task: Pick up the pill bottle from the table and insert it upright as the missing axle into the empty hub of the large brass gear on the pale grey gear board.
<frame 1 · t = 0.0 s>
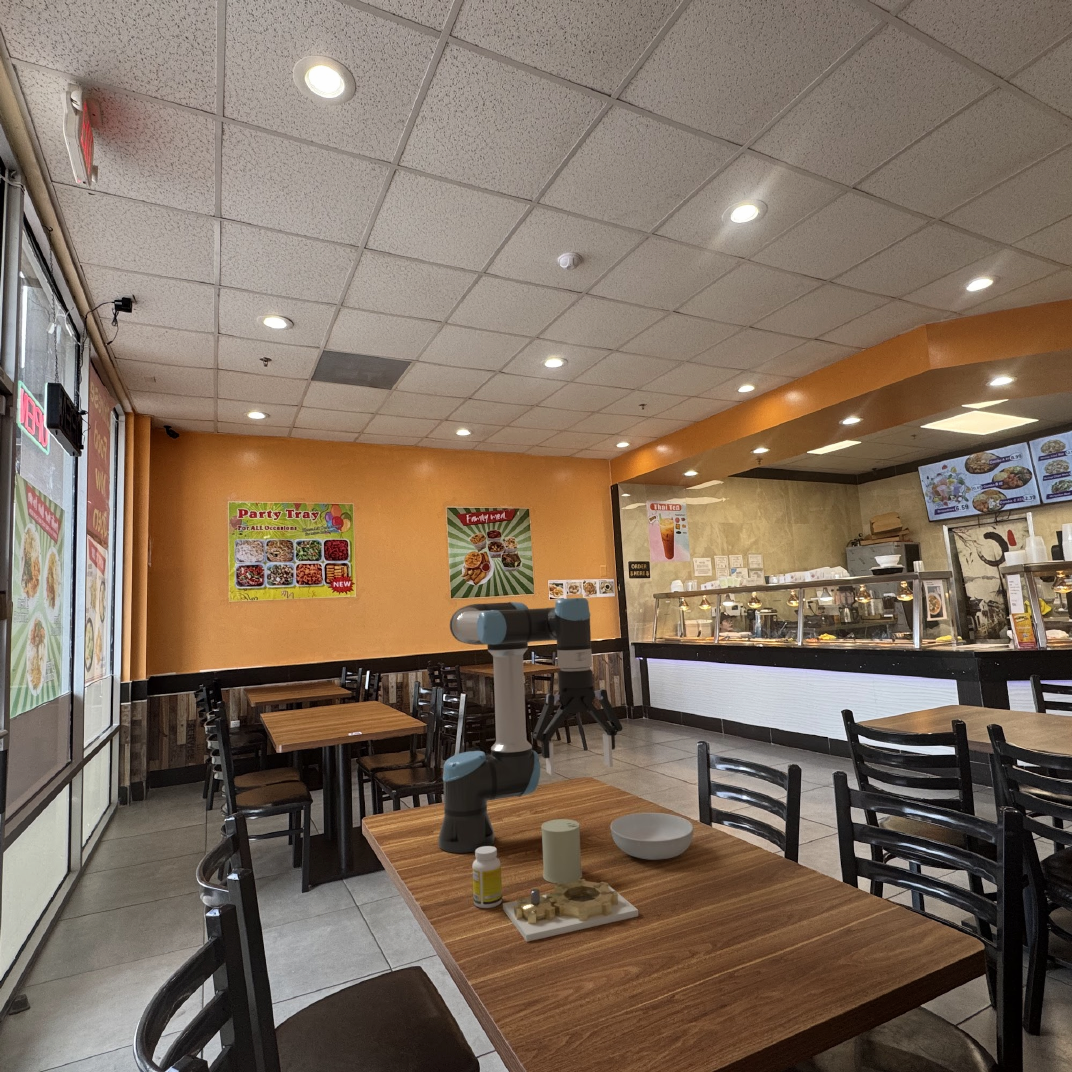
hand: (580, 769, 142), 28 cm above the table, fingers open, 13 cm apart
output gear: (582, 909, 138), resting on gear board
can: (562, 876, 156), on the table
pill bottle: (487, 903, 143), on the table
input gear: (536, 919, 134), resting on gear board
gear board: (569, 912, 137), on the table
serving bowl: (653, 854, 168), on the table
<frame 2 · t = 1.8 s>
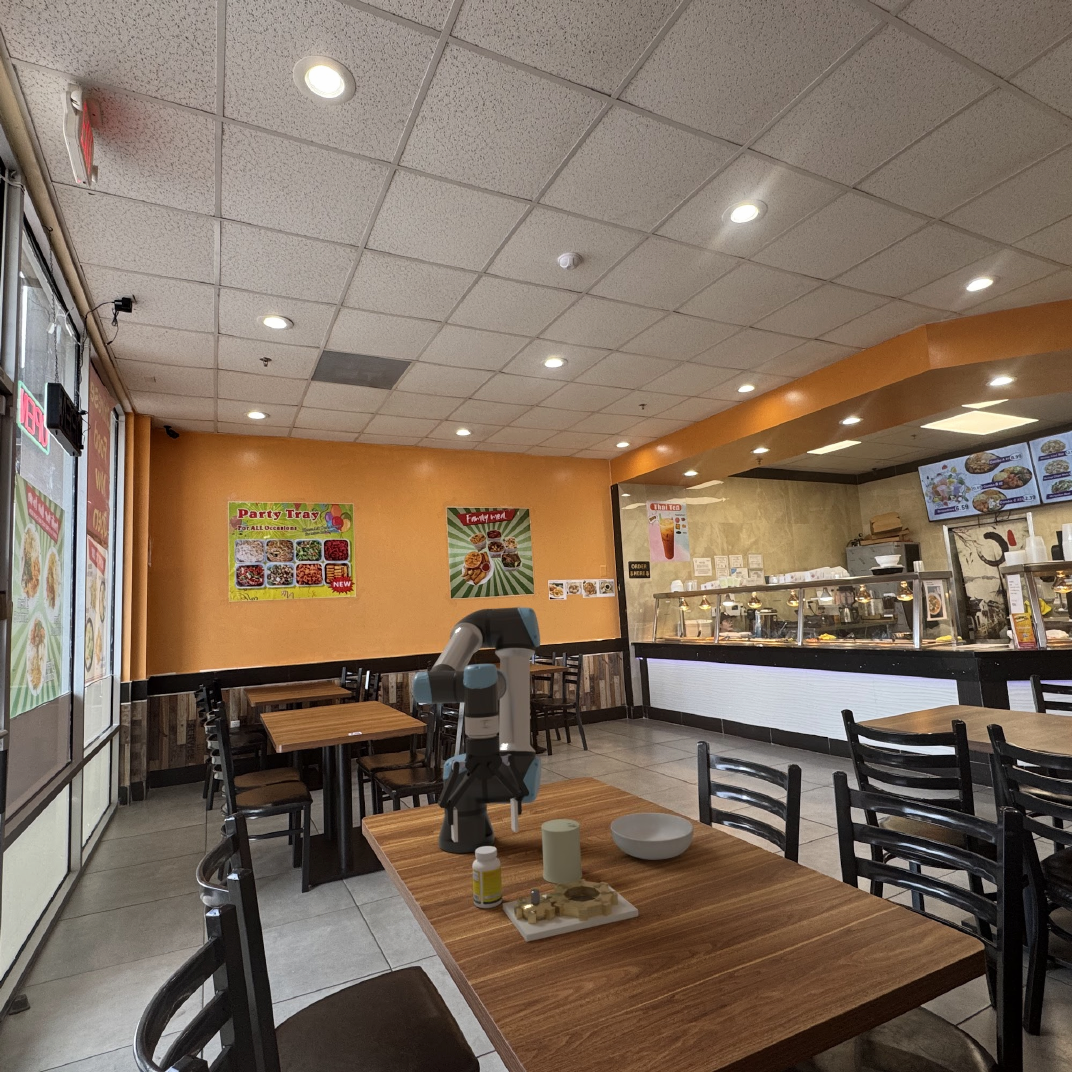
hand: (485, 835, 144), 14 cm above the table, fingers open, 13 cm apart
nothing on the table moved.
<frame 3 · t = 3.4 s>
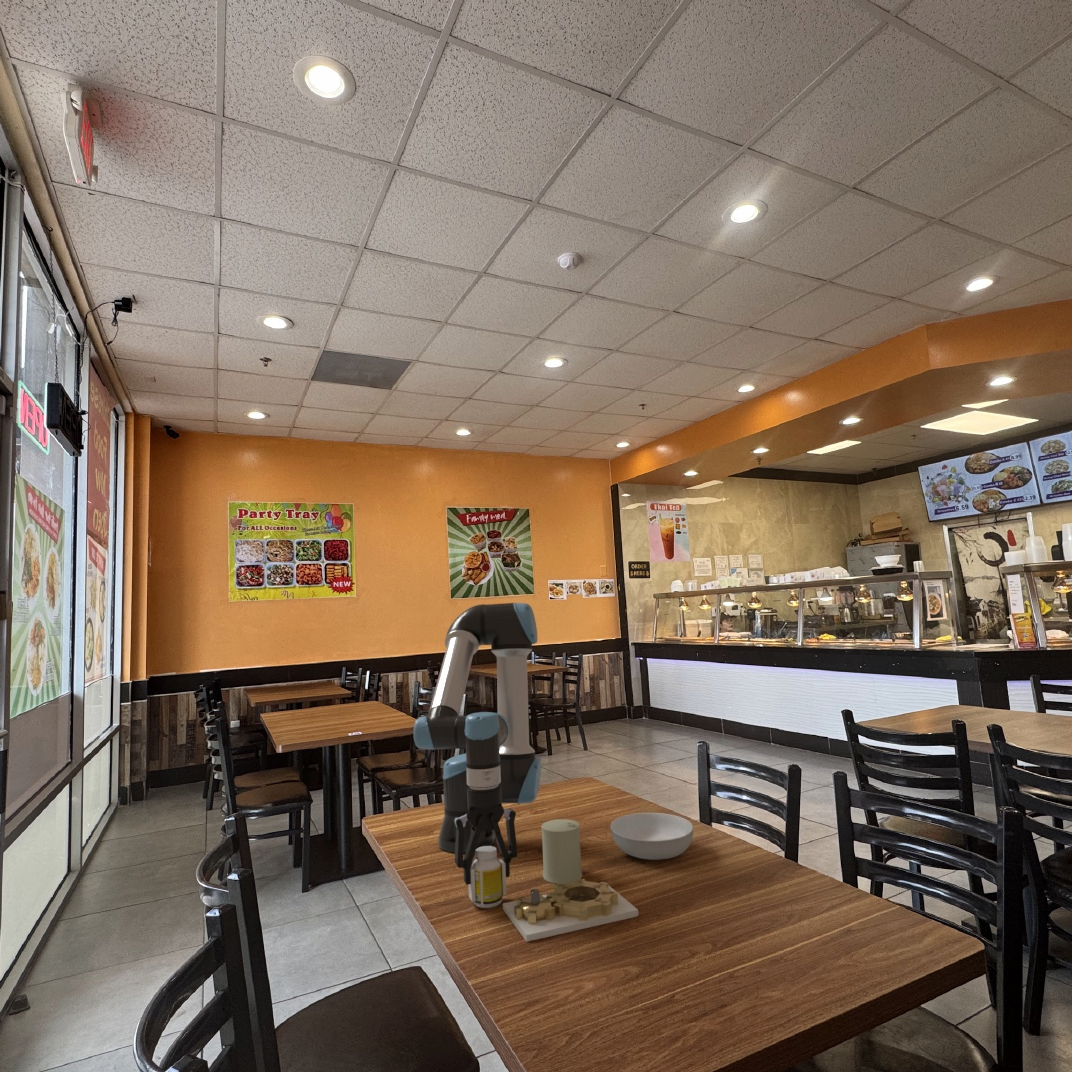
hand: (487, 895, 143), 1 cm above the table, fingers closed on pill bottle, 6 cm apart
pill bottle: (487, 903, 143), on the table, touching gripper
everything else where it was.
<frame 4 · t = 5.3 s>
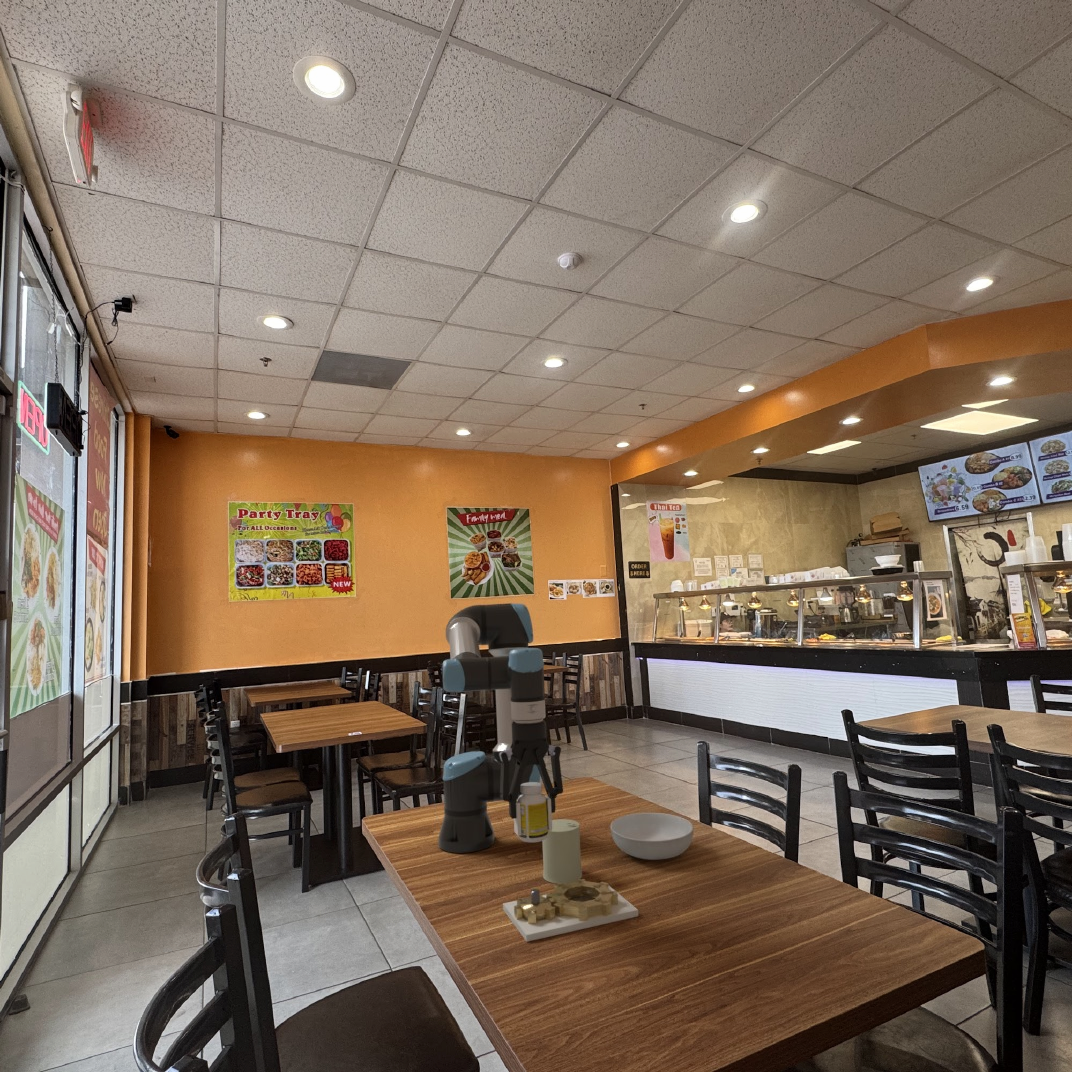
hand: (533, 831, 141), 16 cm above the table, fingers closed on pill bottle, 6 cm apart
pill bottle: (533, 839, 141), point 14 cm above the table, touching gripper
everything else where it was.
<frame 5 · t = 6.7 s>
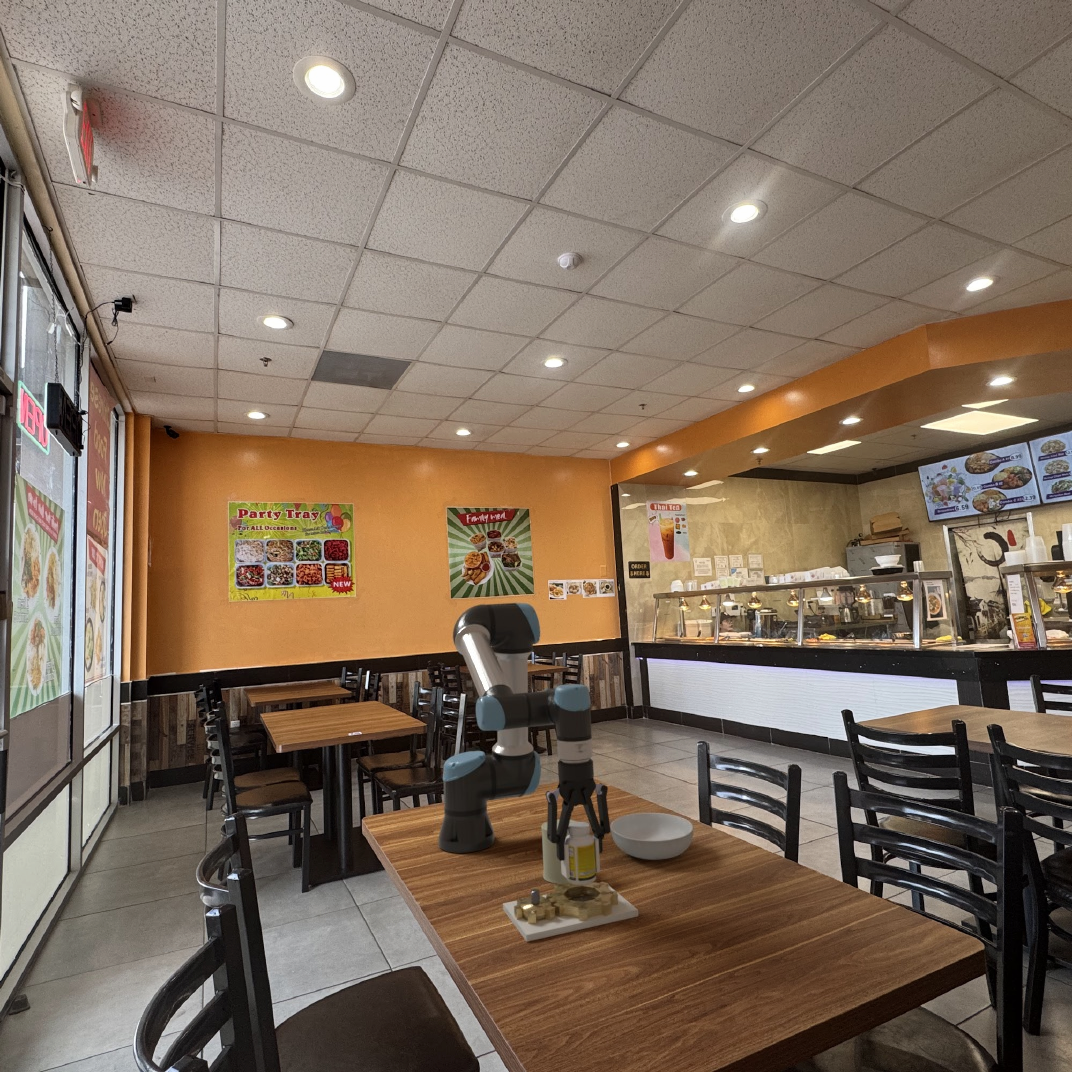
hand: (580, 872, 139), 7 cm above the table, fingers closed on pill bottle, 6 cm apart
pill bottle: (581, 880, 138), point 6 cm above the table, touching gripper
everything else where it was.
when the fingers open (5 cm above the table, at t = 7.5 s): pill bottle drops 2 cm, resting on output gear.
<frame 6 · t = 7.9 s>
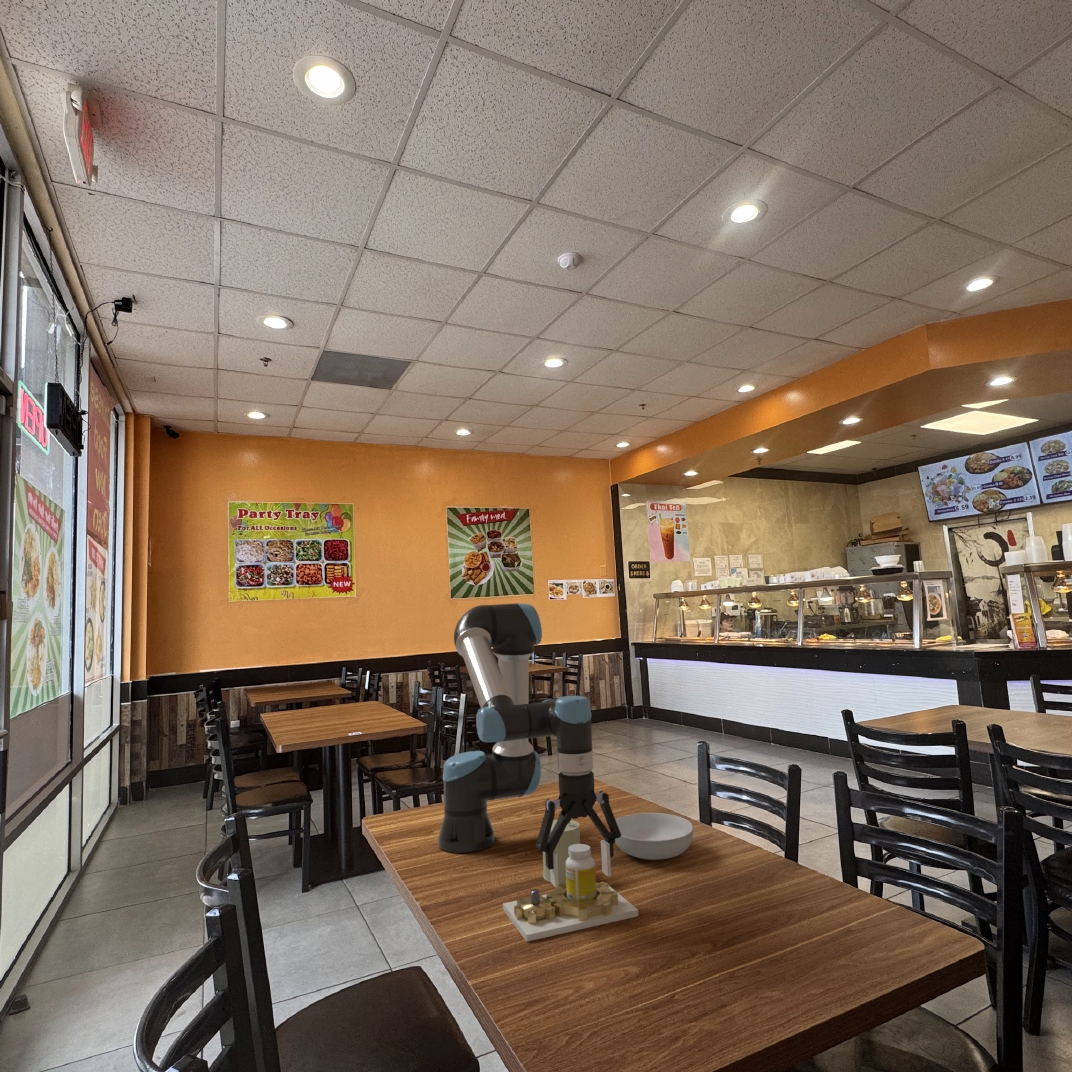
hand: (581, 879, 139), 6 cm above the table, fingers open, 11 cm apart
pill bottle: (581, 903, 138), point 1 cm above the table, touching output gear
everything else where it was.
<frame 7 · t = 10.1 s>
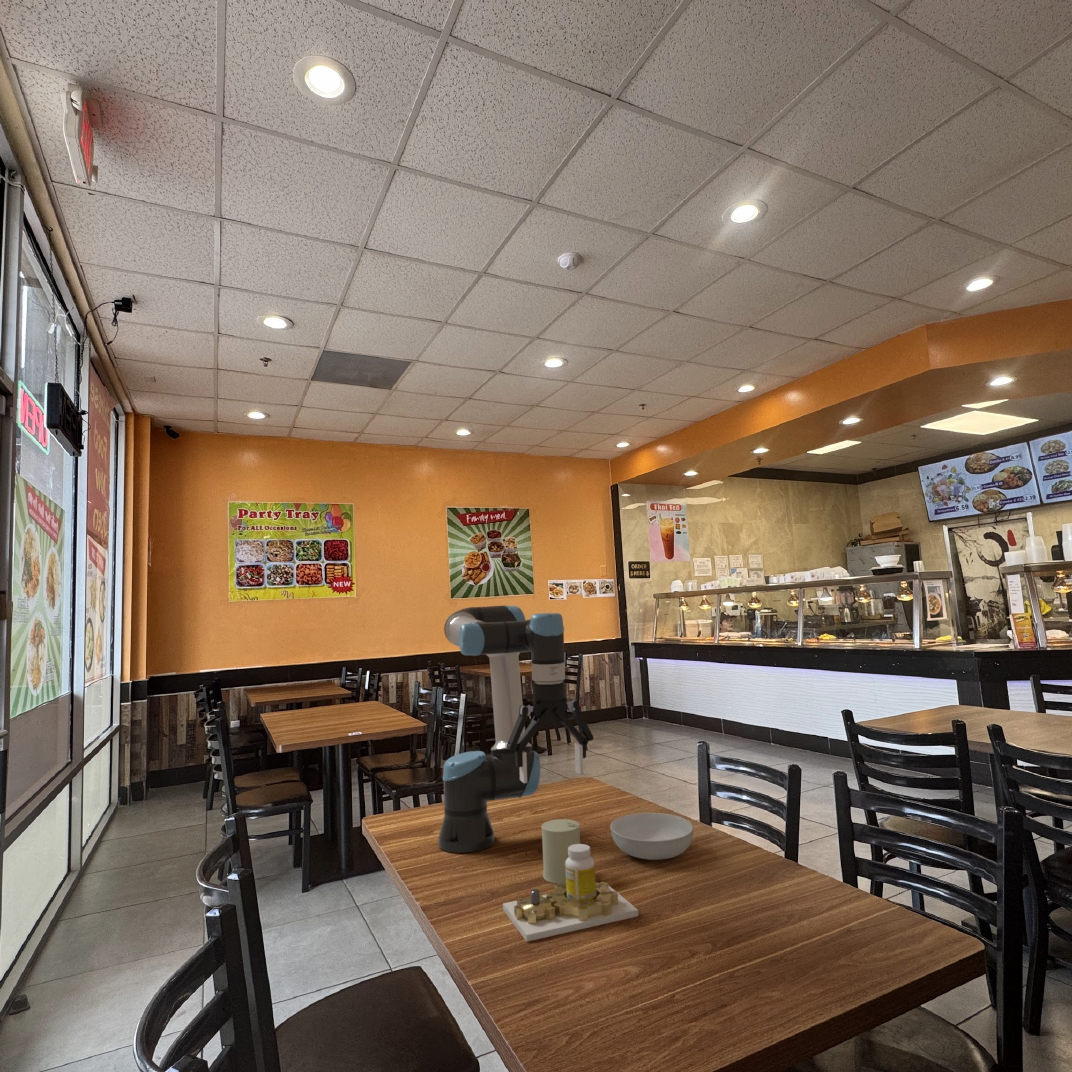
hand: (551, 777, 149), 25 cm above the table, fingers open, 13 cm apart
nothing on the table moved.
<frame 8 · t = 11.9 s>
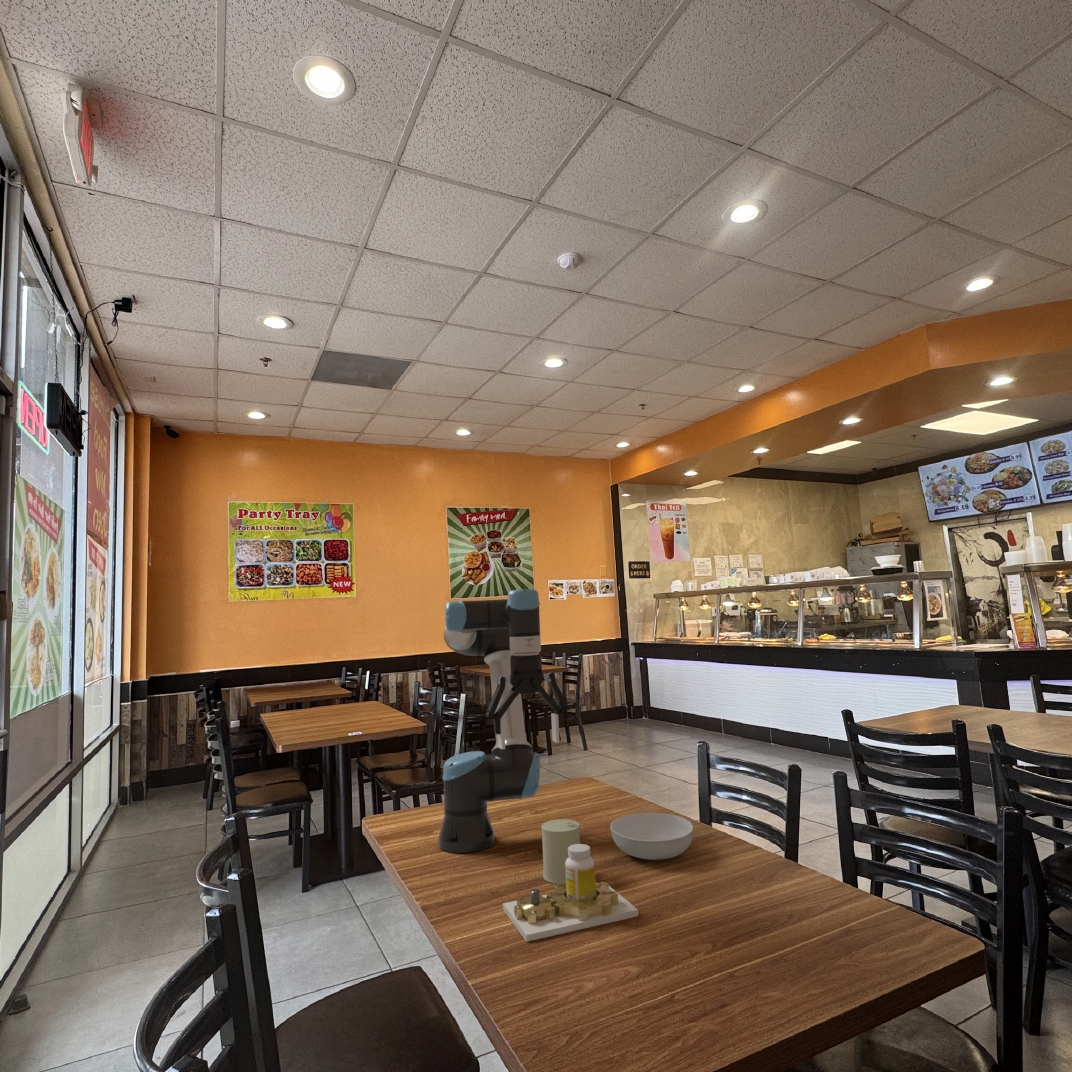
hand: (529, 745, 157), 31 cm above the table, fingers open, 13 cm apart
nothing on the table moved.
at the end: pill bottle 0.1 cm off-centre on the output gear, point 1.2 cm above the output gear's base; pill bottle tilted 0°; the gripper is holding nothing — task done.
